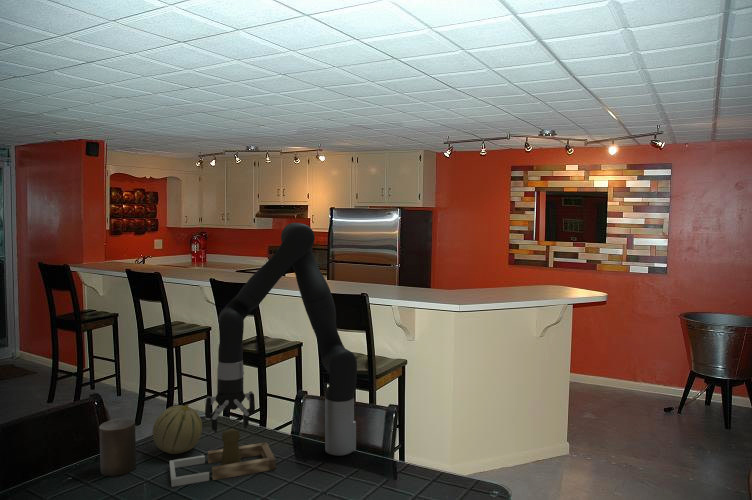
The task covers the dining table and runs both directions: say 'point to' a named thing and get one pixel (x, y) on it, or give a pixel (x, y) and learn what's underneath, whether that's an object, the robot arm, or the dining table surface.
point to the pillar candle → (117, 447)
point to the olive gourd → (230, 447)
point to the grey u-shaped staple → (188, 478)
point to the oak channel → (243, 467)
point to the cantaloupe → (177, 429)
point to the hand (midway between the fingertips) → (230, 429)
